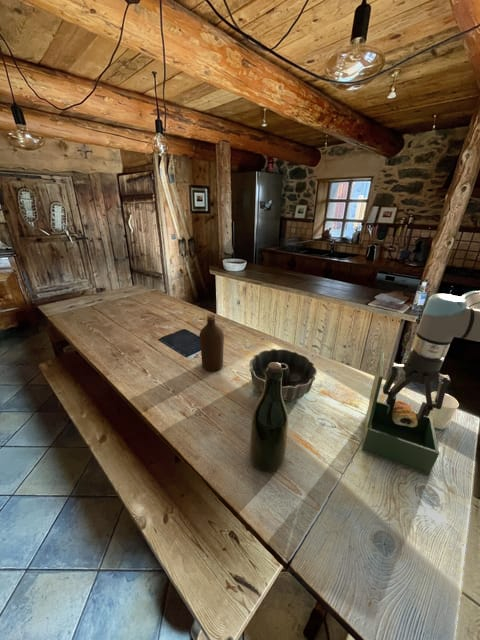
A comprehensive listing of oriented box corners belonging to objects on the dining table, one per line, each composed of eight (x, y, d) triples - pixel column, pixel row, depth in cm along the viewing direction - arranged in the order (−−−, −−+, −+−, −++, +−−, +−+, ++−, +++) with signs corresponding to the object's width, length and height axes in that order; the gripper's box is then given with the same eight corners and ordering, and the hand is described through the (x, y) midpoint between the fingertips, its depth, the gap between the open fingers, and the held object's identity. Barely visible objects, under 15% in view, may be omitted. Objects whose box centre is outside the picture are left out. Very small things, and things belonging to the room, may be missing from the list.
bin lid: (383, 351, 82) (380, 350, 82) (382, 377, 70) (379, 376, 70) (372, 398, 90) (369, 397, 90) (369, 428, 78) (366, 427, 78)
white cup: (426, 428, 90) (435, 405, 86) (417, 411, 97) (426, 389, 93) (452, 432, 88) (463, 410, 84) (442, 415, 95) (452, 393, 91)
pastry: (387, 402, 85) (391, 393, 84) (411, 408, 83) (415, 399, 82) (391, 424, 77) (395, 414, 76) (418, 431, 75) (422, 421, 74)
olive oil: (209, 375, 114) (207, 323, 103) (196, 364, 122) (193, 314, 111) (229, 366, 120) (228, 316, 110) (215, 356, 128) (214, 308, 117)
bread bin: (423, 437, 87) (432, 417, 83) (428, 475, 75) (439, 453, 71) (365, 418, 94) (370, 398, 90) (361, 450, 82) (368, 429, 78)
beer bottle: (260, 436, 86) (266, 349, 72) (290, 452, 81) (303, 361, 67) (242, 461, 78) (245, 368, 64) (274, 480, 73) (285, 384, 59)
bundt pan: (283, 360, 125) (285, 342, 121) (327, 392, 105) (331, 372, 101) (236, 379, 112) (236, 359, 108) (276, 419, 92) (278, 397, 88)
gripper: (385, 349, 71) (366, 414, 80) (479, 370, 63) (445, 439, 72) (385, 337, 77) (367, 398, 86) (470, 355, 69) (440, 420, 79)
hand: (403, 417), depth 79 cm, fingers closed on pastry, 7 cm apart
